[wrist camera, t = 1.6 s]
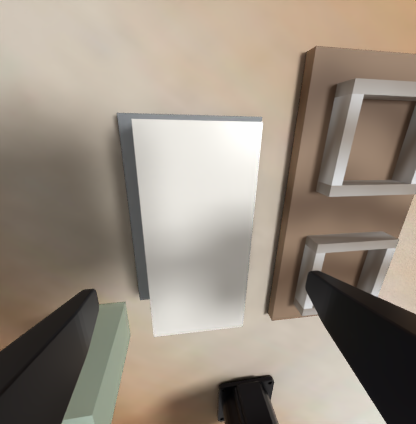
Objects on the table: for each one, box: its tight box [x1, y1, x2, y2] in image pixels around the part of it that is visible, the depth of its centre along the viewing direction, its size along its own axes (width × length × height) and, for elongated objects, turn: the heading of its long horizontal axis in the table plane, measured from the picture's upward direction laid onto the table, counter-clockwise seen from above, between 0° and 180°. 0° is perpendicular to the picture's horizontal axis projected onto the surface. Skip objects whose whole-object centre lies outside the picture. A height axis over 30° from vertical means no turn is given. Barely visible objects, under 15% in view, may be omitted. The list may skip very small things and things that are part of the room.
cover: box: [131, 119, 263, 337], centre depth 14 cm, size 13×6×4 cm, turn 179°
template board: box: [117, 113, 262, 300], centre depth 15 cm, size 14×9×3 cm, turn 0°
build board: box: [268, 46, 416, 321], centre depth 17 cm, size 22×11×2 cm, turn 0°
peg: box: [62, 302, 130, 424], centre depth 15 cm, size 4×4×8 cm
